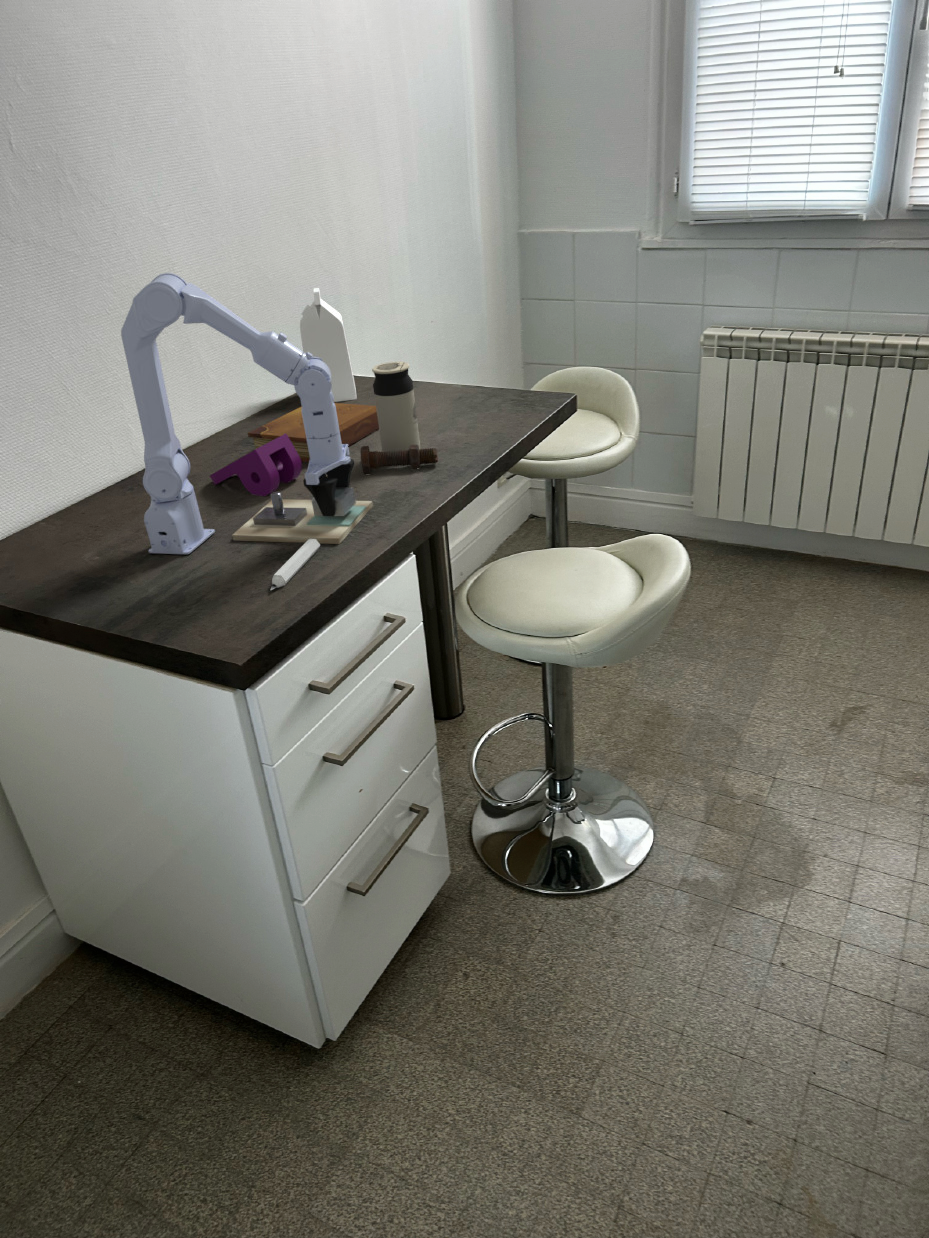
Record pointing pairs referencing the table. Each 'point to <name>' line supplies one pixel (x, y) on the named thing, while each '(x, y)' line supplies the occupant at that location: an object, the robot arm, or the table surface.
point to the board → (305, 525)
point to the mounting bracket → (264, 467)
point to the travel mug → (395, 406)
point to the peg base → (279, 513)
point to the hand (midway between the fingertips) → (335, 508)
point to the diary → (350, 419)
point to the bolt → (397, 458)
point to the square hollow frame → (339, 501)
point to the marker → (294, 563)
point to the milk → (328, 345)
